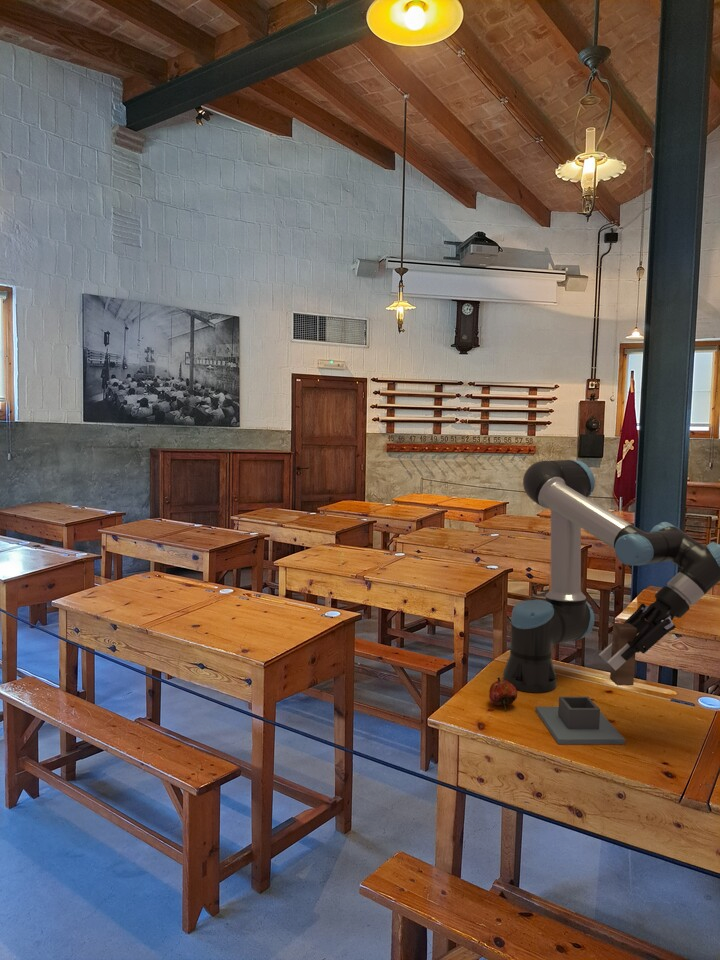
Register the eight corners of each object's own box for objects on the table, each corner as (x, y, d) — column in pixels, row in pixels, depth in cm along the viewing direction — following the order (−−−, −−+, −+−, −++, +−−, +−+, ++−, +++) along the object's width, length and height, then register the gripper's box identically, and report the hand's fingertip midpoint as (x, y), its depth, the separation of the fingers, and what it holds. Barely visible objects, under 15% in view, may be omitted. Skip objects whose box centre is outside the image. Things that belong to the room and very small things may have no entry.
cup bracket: (535, 711, 176) (536, 688, 175) (595, 711, 177) (596, 688, 176) (558, 744, 158) (559, 719, 157) (624, 744, 159) (626, 719, 158)
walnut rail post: (609, 678, 164) (613, 623, 163) (625, 678, 164) (629, 623, 163) (617, 685, 160) (620, 628, 159) (633, 685, 160) (637, 628, 159)
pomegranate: (519, 718, 176) (514, 684, 184) (519, 704, 172) (515, 670, 179) (491, 719, 178) (487, 685, 185) (490, 705, 173) (486, 671, 180)
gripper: (708, 617, 153) (633, 687, 153) (669, 596, 170) (602, 659, 170) (687, 595, 152) (612, 665, 153) (650, 576, 169) (583, 639, 170)
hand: (607, 662), depth 161 cm, fingers closed on walnut rail post, 4 cm apart
